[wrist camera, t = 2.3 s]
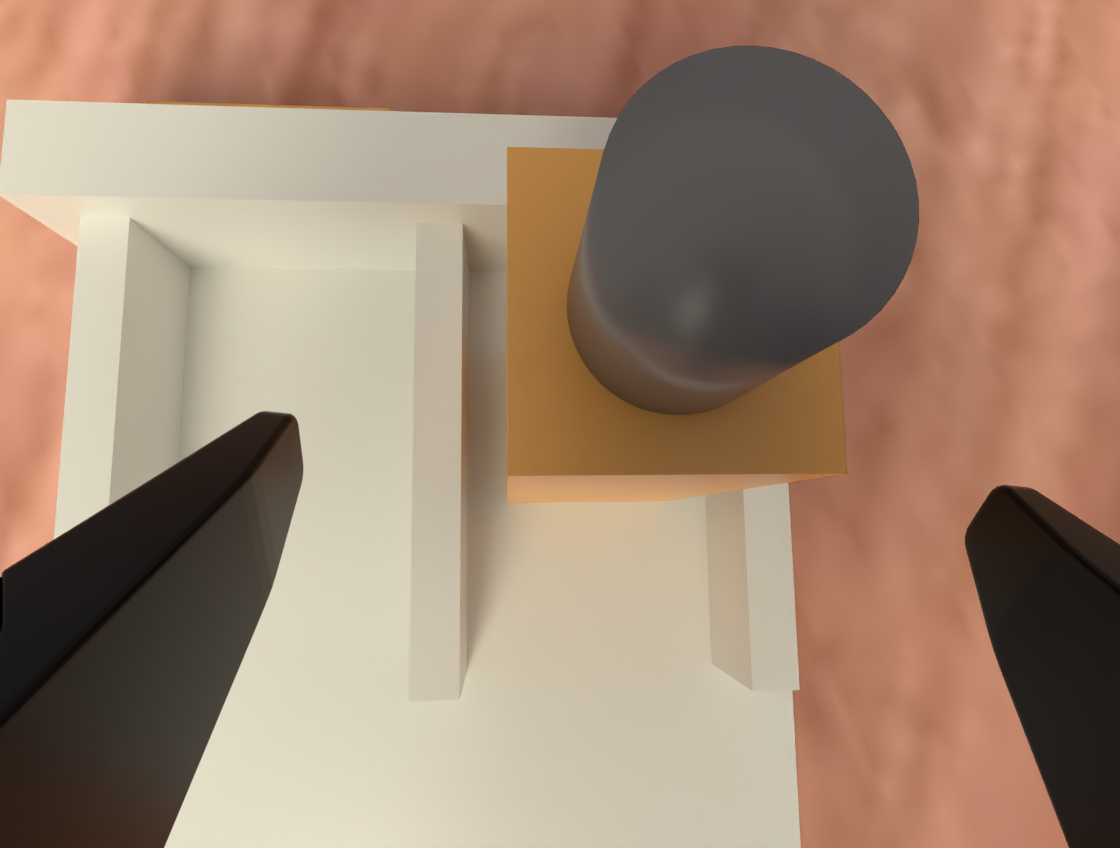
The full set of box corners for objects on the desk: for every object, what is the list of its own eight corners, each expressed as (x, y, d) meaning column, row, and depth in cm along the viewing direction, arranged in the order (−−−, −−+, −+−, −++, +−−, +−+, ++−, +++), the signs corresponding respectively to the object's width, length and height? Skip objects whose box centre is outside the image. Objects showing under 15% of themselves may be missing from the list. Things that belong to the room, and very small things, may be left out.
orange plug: (665, 501, 19) (1025, 445, 6) (506, 503, 18) (508, 448, 5) (660, 346, 19) (978, -22, 6) (506, 346, 19) (508, -44, 6)
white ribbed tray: (792, 866, 18) (889, 980, 14) (73, 900, 17) (-86, 1039, 12) (756, 179, 21) (828, 81, 16) (127, 164, 19) (11, 53, 15)
